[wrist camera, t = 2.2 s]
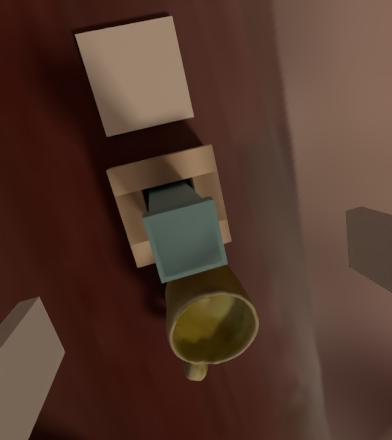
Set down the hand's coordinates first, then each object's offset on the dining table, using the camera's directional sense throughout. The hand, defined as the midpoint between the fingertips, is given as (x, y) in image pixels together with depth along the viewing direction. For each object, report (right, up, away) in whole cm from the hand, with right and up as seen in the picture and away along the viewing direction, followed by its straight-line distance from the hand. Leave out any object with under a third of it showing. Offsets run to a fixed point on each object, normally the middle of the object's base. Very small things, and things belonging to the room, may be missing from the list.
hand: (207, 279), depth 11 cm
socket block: (-3, +5, +19) cm, 19 cm away
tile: (-6, +16, +15) cm, 23 cm away
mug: (0, -7, +22) cm, 24 cm away
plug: (-3, +5, +19) cm, 19 cm away
